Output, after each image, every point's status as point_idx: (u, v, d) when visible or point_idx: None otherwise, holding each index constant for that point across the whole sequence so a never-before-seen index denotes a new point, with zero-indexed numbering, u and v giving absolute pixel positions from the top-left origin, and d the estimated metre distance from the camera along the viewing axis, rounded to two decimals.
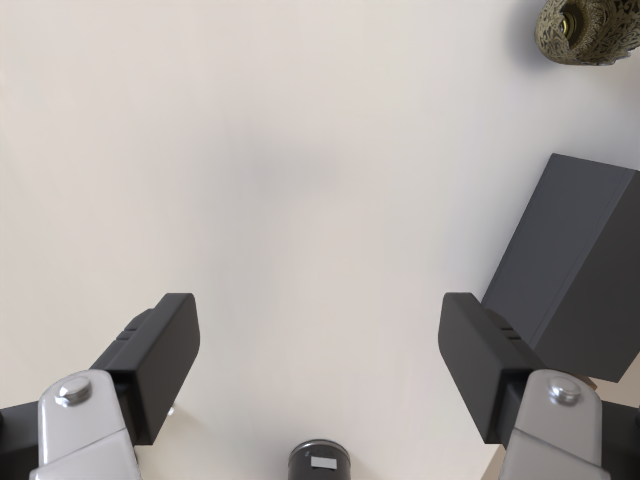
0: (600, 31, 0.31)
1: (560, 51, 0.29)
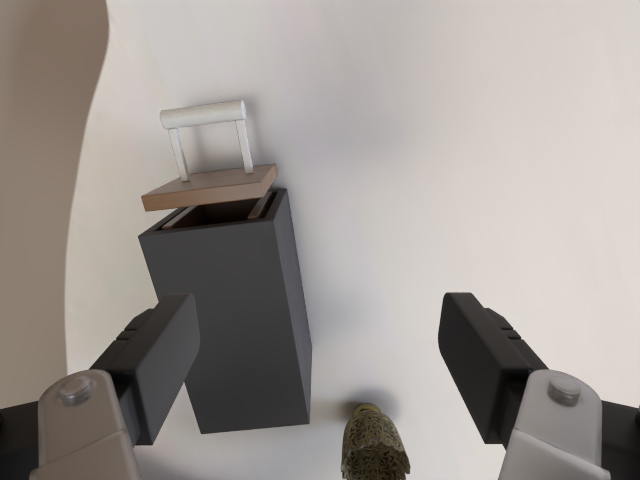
0: None
1: (388, 435, 0.38)
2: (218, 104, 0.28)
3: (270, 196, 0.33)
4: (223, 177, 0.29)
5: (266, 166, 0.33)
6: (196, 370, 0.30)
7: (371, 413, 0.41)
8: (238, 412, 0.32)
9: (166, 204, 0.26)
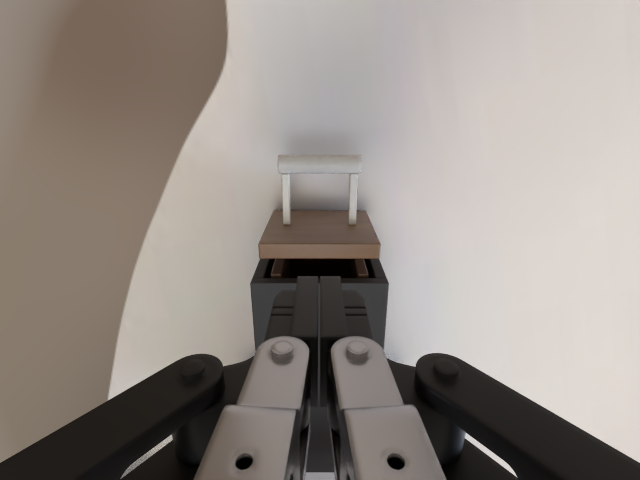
0: None
1: None
2: (337, 157, 0.28)
3: None
4: (327, 226, 0.29)
5: (360, 214, 0.33)
6: None
7: None
8: None
9: (282, 254, 0.26)
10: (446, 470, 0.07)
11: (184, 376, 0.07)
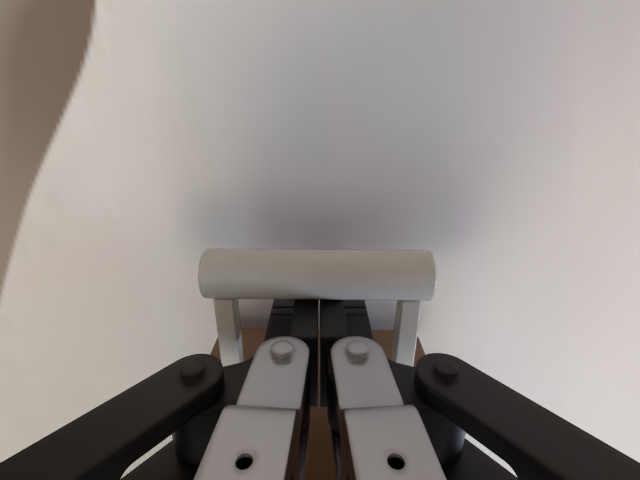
0: None
1: None
2: (369, 261, 0.10)
3: None
4: None
5: None
6: None
7: None
8: None
9: None
10: (446, 470, 0.07)
11: (184, 376, 0.07)
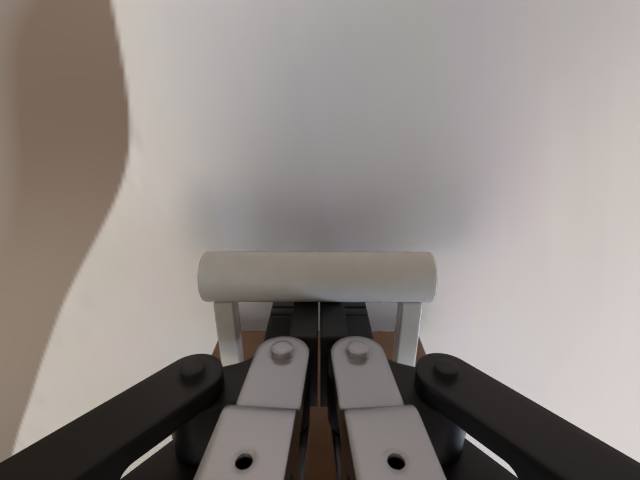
0: None
1: None
2: (369, 263, 0.10)
3: None
4: None
5: None
6: None
7: None
8: None
9: None
10: (446, 470, 0.07)
11: (184, 376, 0.07)
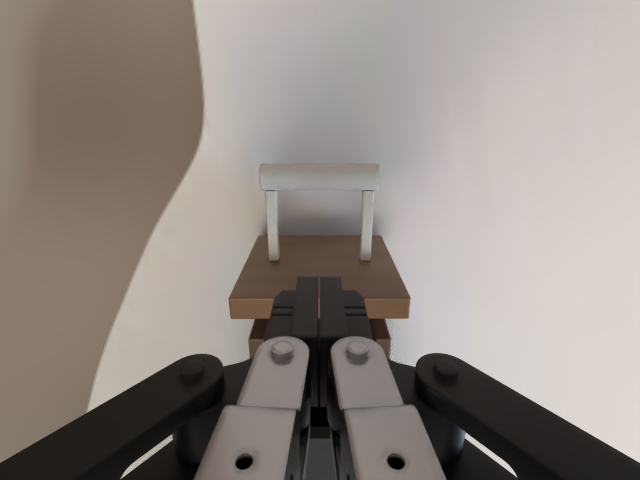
0: None
1: None
2: (345, 167, 0.19)
3: None
4: (330, 263, 0.21)
5: (374, 241, 0.24)
6: None
7: None
8: None
9: (264, 313, 0.17)
10: (446, 470, 0.07)
11: (184, 376, 0.07)
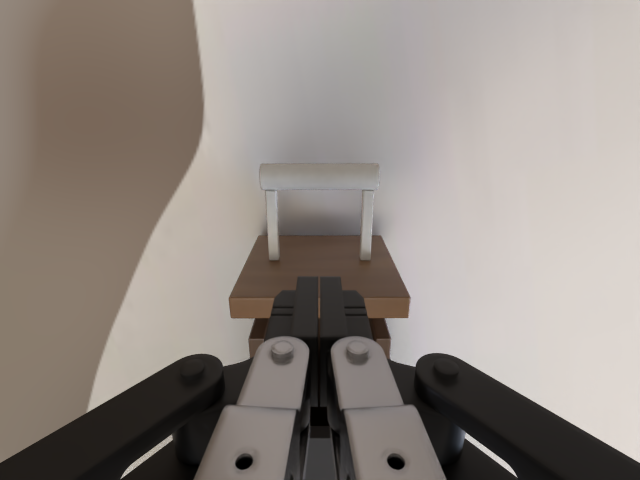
0: None
1: None
2: (345, 167, 0.19)
3: None
4: (330, 263, 0.21)
5: (374, 241, 0.24)
6: None
7: None
8: None
9: (264, 312, 0.17)
10: (446, 470, 0.07)
11: (184, 376, 0.07)
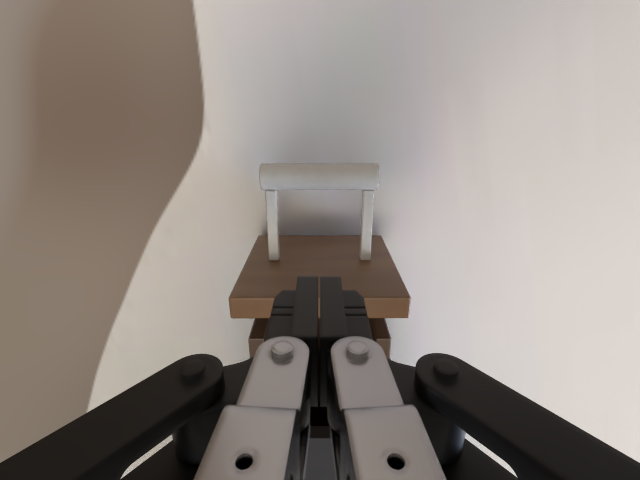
0: None
1: None
2: (345, 167, 0.19)
3: None
4: (330, 263, 0.21)
5: (374, 241, 0.24)
6: None
7: None
8: None
9: (264, 312, 0.17)
10: (446, 470, 0.07)
11: (184, 376, 0.07)
